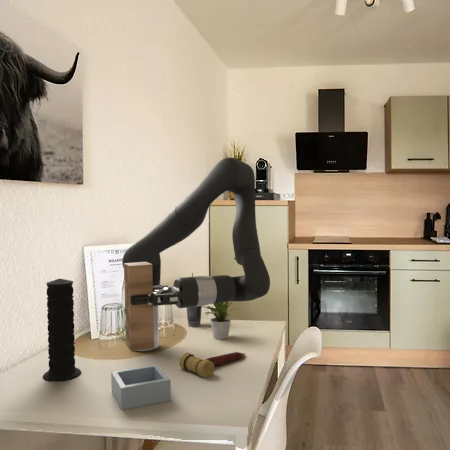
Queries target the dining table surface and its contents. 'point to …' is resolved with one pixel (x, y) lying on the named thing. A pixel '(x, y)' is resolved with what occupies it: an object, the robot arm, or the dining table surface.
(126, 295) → the walnut handle block
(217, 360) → the gavel
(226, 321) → the house plant
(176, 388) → the dining table surface
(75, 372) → the handle grip
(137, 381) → the box
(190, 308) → the beverage cup
